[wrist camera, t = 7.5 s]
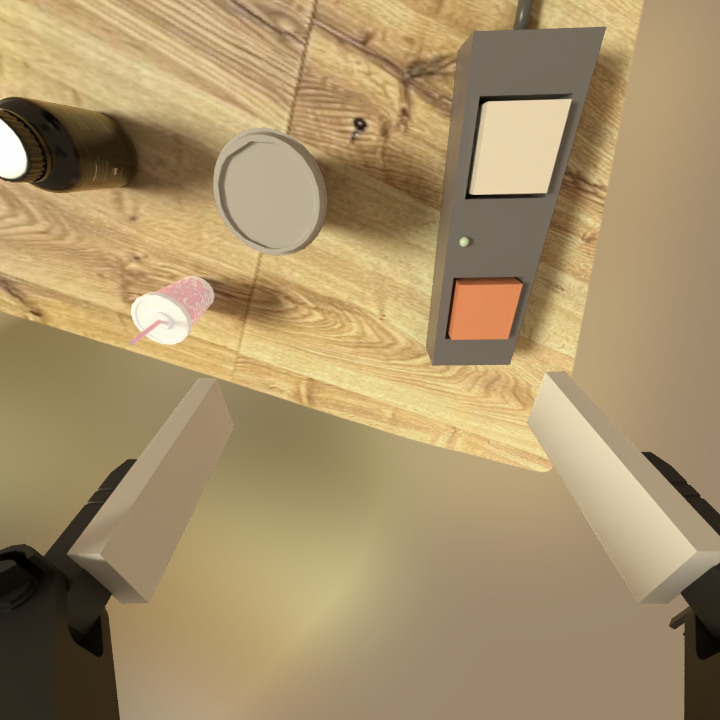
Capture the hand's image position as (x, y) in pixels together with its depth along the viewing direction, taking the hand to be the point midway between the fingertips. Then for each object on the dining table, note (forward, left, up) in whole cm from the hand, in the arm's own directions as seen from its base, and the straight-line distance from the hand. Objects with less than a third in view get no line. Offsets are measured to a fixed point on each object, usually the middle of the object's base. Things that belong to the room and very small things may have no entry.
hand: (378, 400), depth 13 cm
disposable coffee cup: (-6, -8, -30) cm, 32 cm away
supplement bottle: (-10, -28, -30) cm, 43 cm away
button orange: (+7, +14, -29) cm, 33 cm away
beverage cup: (+6, -23, -30) cm, 39 cm away
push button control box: (-3, +14, -30) cm, 33 cm away
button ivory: (-9, +14, -29) cm, 33 cm away
